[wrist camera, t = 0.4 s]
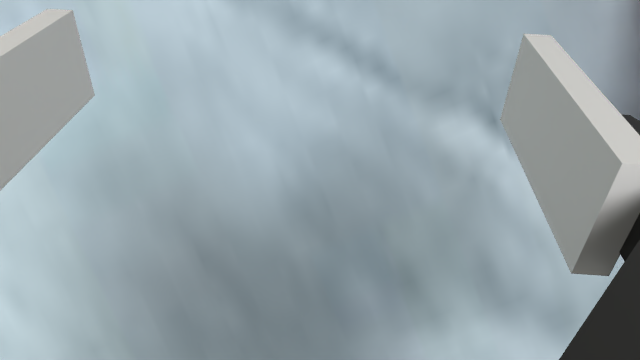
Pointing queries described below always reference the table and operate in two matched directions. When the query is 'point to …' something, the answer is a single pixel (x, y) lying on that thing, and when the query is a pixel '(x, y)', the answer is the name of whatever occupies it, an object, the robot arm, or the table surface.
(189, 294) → the table surface
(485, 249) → the table surface
